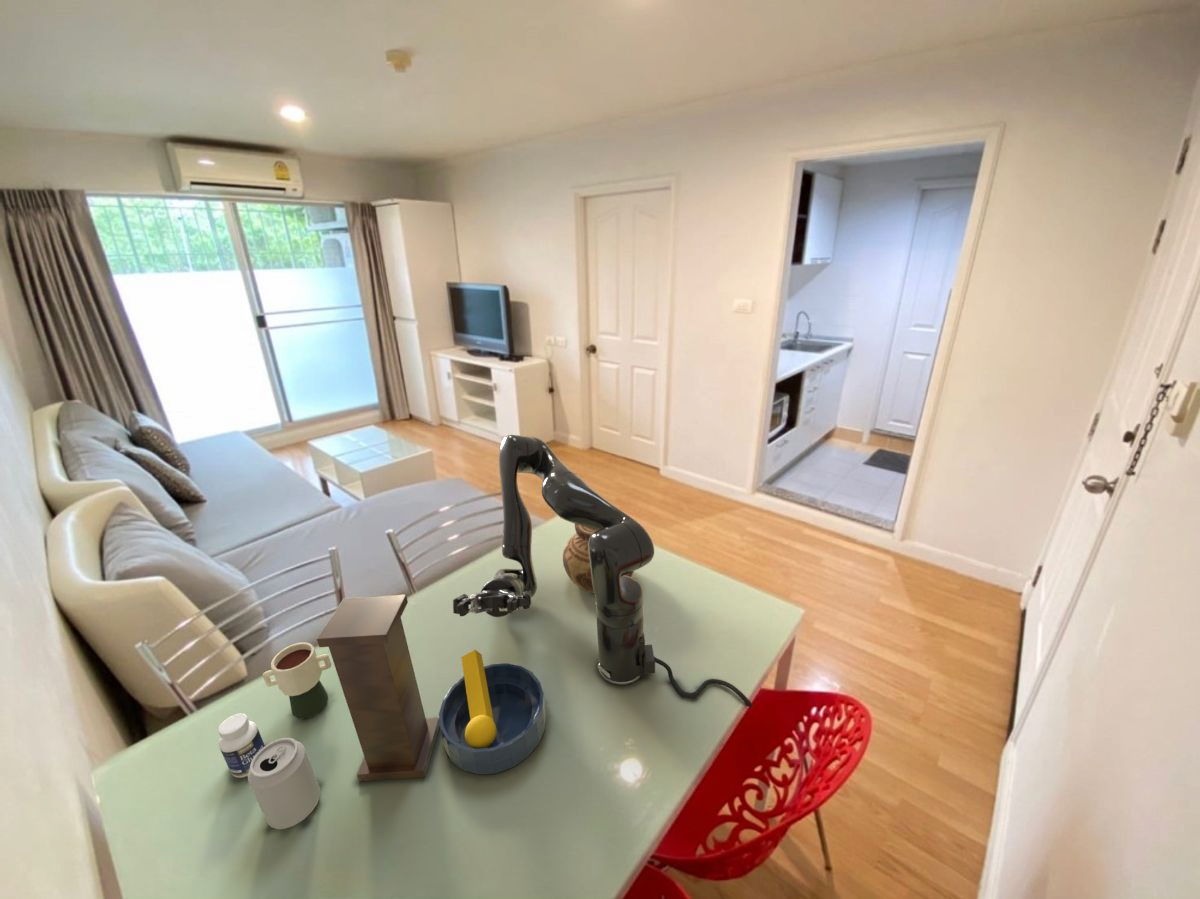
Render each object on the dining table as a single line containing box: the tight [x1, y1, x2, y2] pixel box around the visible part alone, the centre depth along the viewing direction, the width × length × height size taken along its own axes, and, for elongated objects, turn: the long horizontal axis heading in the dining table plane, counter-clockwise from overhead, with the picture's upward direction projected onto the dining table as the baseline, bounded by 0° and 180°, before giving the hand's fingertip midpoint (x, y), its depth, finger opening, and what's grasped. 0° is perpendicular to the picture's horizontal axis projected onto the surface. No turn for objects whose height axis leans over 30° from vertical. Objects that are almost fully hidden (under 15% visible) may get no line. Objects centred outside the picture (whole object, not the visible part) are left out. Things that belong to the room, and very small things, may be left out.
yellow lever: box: [460, 649, 496, 749], centre depth 88 cm, size 5×18×5 cm
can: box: [247, 737, 322, 830], centre depth 76 cm, size 8×8×12 cm
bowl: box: [438, 662, 547, 775], centre depth 89 cm, size 18×18×6 cm
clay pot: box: [562, 524, 635, 594], centre depth 125 cm, size 19×19×20 cm
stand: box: [316, 594, 440, 782], centre depth 81 cm, size 11×10×30 cm
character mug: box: [262, 641, 332, 720], centre depth 93 cm, size 11×7×13 cm, turn 113°
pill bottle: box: [217, 713, 266, 779], centre depth 84 cm, size 5×5×10 cm
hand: (485, 608), depth 86 cm, fingers open, 8 cm apart
